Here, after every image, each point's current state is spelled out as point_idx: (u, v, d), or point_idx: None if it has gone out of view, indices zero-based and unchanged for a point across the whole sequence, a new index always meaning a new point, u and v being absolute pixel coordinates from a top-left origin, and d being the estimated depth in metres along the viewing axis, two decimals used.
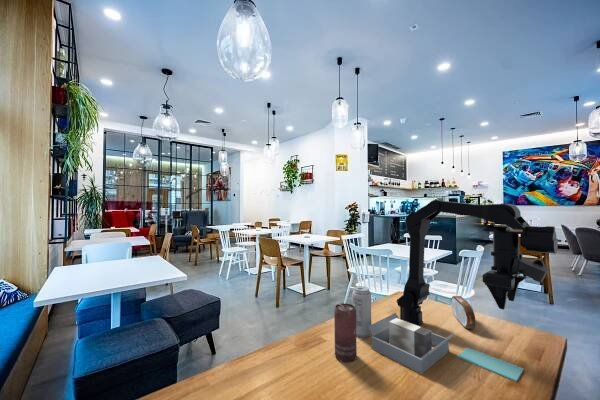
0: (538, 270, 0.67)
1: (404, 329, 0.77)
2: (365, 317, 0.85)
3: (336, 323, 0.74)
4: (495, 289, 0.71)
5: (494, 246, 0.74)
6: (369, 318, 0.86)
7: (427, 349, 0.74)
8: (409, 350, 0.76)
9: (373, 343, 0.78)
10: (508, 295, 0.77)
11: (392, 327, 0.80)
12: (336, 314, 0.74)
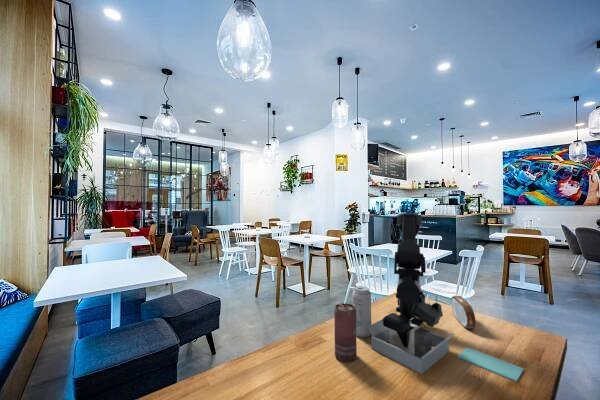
0: (429, 316, 0.71)
1: None
2: (364, 317, 0.85)
3: (336, 323, 0.74)
4: None
5: None
6: (369, 318, 0.86)
7: (427, 349, 0.74)
8: (409, 350, 0.76)
9: (373, 343, 0.78)
10: None
11: None
12: (336, 314, 0.74)
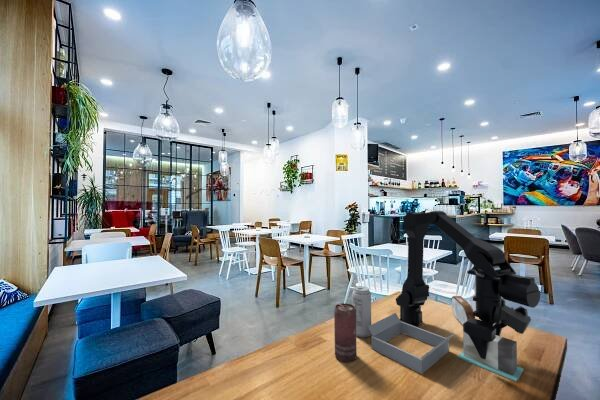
0: (520, 321, 0.64)
1: None
2: (364, 317, 0.85)
3: (336, 323, 0.74)
4: (476, 338, 0.68)
5: (475, 290, 0.72)
6: (369, 318, 0.86)
7: (514, 362, 0.67)
8: (491, 363, 0.69)
9: (373, 343, 0.78)
10: None
11: (467, 337, 0.73)
12: (336, 314, 0.74)
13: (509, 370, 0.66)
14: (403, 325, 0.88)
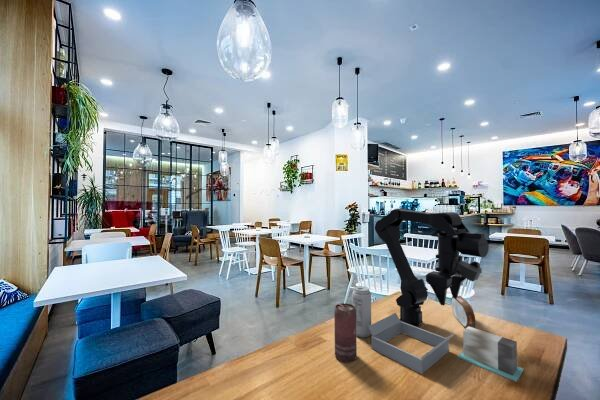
0: (471, 271, 0.77)
1: (484, 340, 0.70)
2: (364, 317, 0.85)
3: (336, 323, 0.74)
4: (437, 287, 0.81)
5: (438, 249, 0.85)
6: (369, 318, 0.86)
7: (514, 362, 0.67)
8: (491, 363, 0.69)
9: (373, 343, 0.78)
10: (452, 293, 0.87)
11: (467, 337, 0.73)
12: (336, 314, 0.74)
13: (509, 370, 0.66)
14: (403, 325, 0.88)
